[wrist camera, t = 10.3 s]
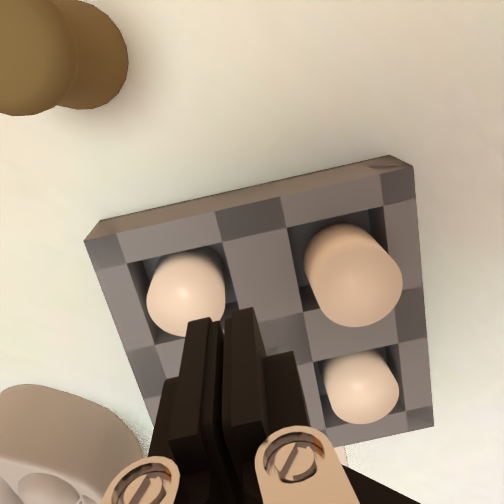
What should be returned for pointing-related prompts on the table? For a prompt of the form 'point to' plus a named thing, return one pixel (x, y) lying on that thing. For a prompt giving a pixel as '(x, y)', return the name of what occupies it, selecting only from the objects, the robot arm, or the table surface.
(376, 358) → the button
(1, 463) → the lumpy-topped squat cylinder
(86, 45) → the cork
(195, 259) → the button
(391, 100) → the table surface
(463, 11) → the table surface
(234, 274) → the button board
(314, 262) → the button
